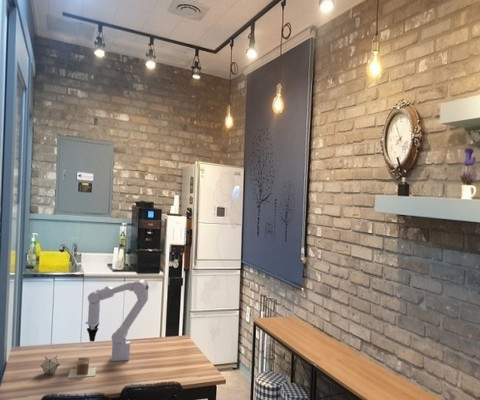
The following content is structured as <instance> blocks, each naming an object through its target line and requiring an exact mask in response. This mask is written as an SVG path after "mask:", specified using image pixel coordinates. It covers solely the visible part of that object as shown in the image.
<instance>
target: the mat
mask: <svg viewBox="0 0 480 400" xmlns="http://www.w3.org/2000/svg"><path fill="white" fill-rule="evenodd" d="M96 370H97V367H89V369H88V374H85V375H77V368H71V369H70V370H69V373H68V375H67V376H68V377H67V378H68V379H76V378H89V377H91V378H92V377H96Z"/></svg>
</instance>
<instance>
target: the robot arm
mask: <svg viewBox="0 0 480 400" xmlns="http://www.w3.org/2000/svg"><path fill="white" fill-rule="evenodd" d="M149 288H150V286H149V284H148V281H147V280H146V279H142V278H140V279H138V280H137V279H136V280H132V281H128V282H126V283H122V284H120V285H118V286H115V287H112V286H108V285H107V286H105V287H104V288H102V289H99V288H98V289H96V290H94V291H92V292H91V293H89V294H88V296H87V301H88V310H87V311H88V313H87V314H88V315H87V321H86V322H85V324H86V325H88V327H87V328H86V331H87V333H88V337H89V342H95V340H96V335H97V333H98V330H99V328H98V327H99V325H100V309H101V308H100V307H101V301H104V300H107V299H110V298H113V297H114V296H115V294H118V293H121V292H124V291H129V292H133V293H134V295H135V296H136V298H137V301H136V302H135V303H134V305H133V306H132V308H131V309H130V311H129V313H128V314H127V316H126V317H125V319H124V320H123V322H122V323H121V325H120V326H119V327H118V328H117V329H116V330H115V331H114V332H113V334H112V335H111V341H112V343H111V355H110V361H111V362H119V361H130V355H131V341H130V340H127V336H128V333H129V330H130V328H131V327H132V325H133V323H134V322H135V320H136V318H137V317H138V316H139V314H140V313H141V311H142V310H143V308H144V307H145V306H146V305H145V304H147V302H148V299H149Z"/></svg>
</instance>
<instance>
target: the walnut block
mask: <svg viewBox="0 0 480 400" xmlns="http://www.w3.org/2000/svg"><path fill="white" fill-rule="evenodd" d="M89 368H90V356H85V357H78V360H77V363H76V369H77V375H85V374H88V369H89Z"/></svg>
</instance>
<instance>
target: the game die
mask: <svg viewBox="0 0 480 400" xmlns="http://www.w3.org/2000/svg"><path fill="white" fill-rule="evenodd" d="M57 357H58V355H55V357H54V356H53V357H47V356H44V358H45V359H44V361H43V362H42V364H40V366H39V367H41V368H42V371H43V376H44V375H45V374H46V375H47V374H54V375H56V371H57V369H58V367H59V366H61V363H59V362H58V358H57Z"/></svg>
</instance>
